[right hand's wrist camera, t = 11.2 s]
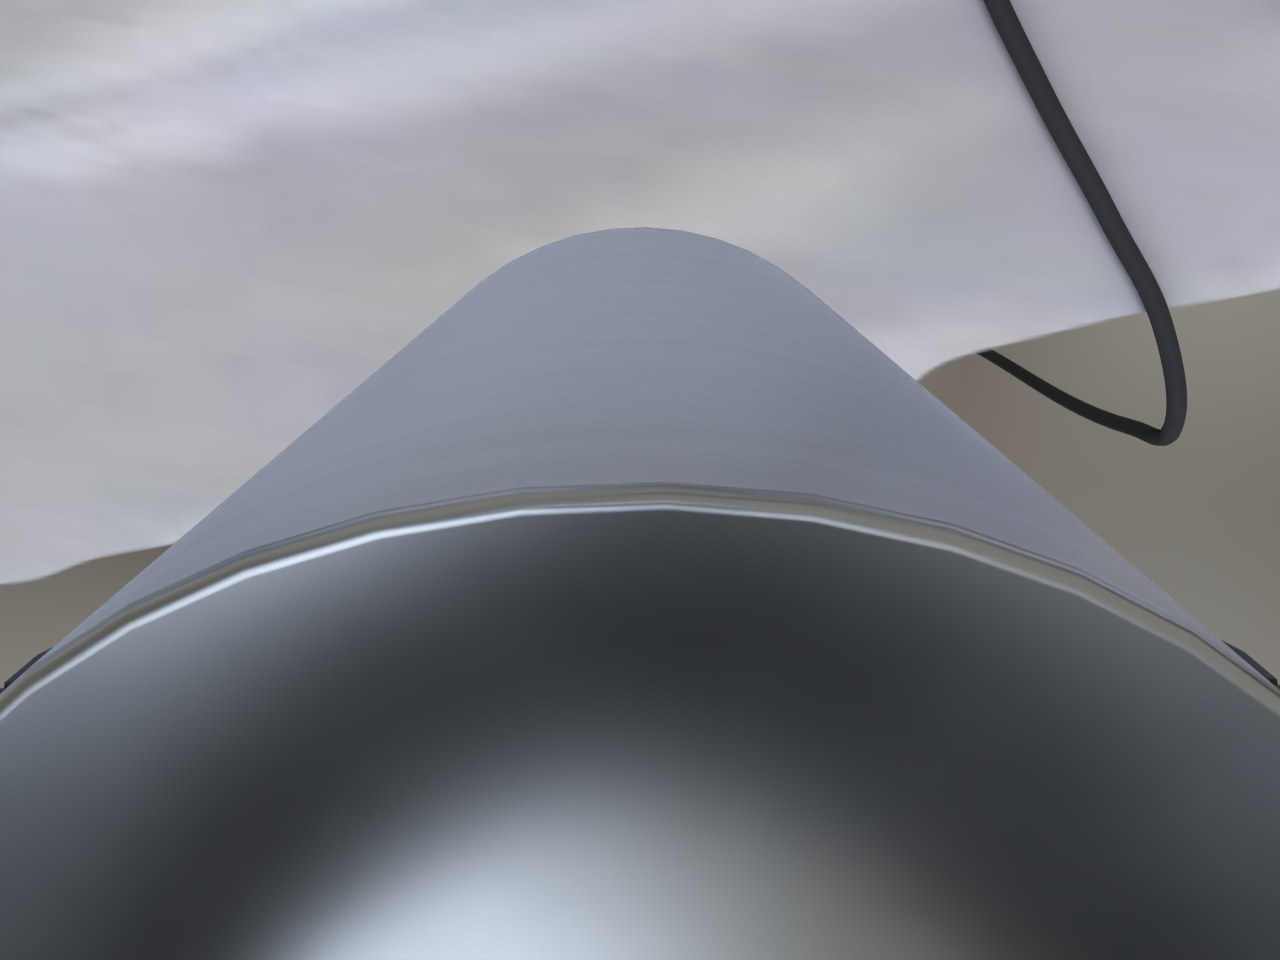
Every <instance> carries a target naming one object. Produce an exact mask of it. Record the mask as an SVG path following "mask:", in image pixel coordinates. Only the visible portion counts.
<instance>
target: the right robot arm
mask: <svg viewBox="0 0 1280 960" xmlns="http://www.w3.org/2000/svg"><path fill="white" fill-rule="evenodd" d="M984 2H985V4H986V7H987V9H988V11H989V13H990V15H991V17H992V19H993V22H994V24H995V26H996V28H997V30H998V32H999V34H1000V36H1001V38H1002V40H1003V42H1004V44H1005V46H1006V48H1007V50H1008V52H1009V54H1010V56H1011V58H1012V60H1013V62H1014V64H1015V66H1016V68H1017V70H1018V72H1019V74H1020V76H1021V78H1022V80H1023V82H1024V84H1025V86H1026V88H1027V90H1028V92H1029V94H1030V96H1031V97H1032V99H1033V101H1034V103H1035V105H1036V107H1037V109H1038V111H1039V113H1040V115H1041V117H1042V119H1043V121H1044V122H1045V124H1046V126H1047V128H1048V130H1049V132H1050V134H1051V135H1052V137H1053V139H1054V141H1055V143H1056V144H1057V146H1058V148H1059V150H1060V152H1061V153H1062V155H1063V157H1064V159H1065V161H1066V162H1067V164H1068V166H1069V168H1070V169H1071V171H1072V173H1073V175H1074V177H1075V178H1076V180H1077V182H1078V184H1079V186H1080V187H1081V189H1082V191H1083V193H1084V195H1085V197H1086V198H1087V200H1088V202H1089V204H1090V206H1091V208H1092V210H1093V211H1094V213H1095V215H1096V217H1097V219H1098V221H1099V223H1100V225H1101V227H1102V229H1103V231H1104V232H1105V234H1106V236H1107V238H1108V240H1109V242H1110V243H1111V245H1112V247H1113V249H1114V250H1115V252H1116V254H1117V256H1118V257H1119V259H1120V261H1121V262H1122V264H1123V266H1124V268H1125V269H1126V271H1127V273H1128V275H1129V276H1130V278H1131V280H1132V282H1133V284H1134V286H1135V287H1136V289H1137V291H1138V293H1139V295H1140V297H1141V300H1142V302H1143V304H1144V306H1145V309H1146V311H1147V314H1148V316H1149V319H1150V322H1151V325H1152V328H1153V331H1154V335H1155V338H1156V342H1157V346H1158V350H1159V354H1160V358H1161V363H1162V367H1163V373H1164V379H1165V386H1166V398H1167V409H1166V418H1165V422H1164V425H1163V427H1162V428H1161V430H1160V429H1157V428H1154V427H1152V426H1150V425H1147V424H1145V423H1143V422H1140V421H1136V420H1133V419H1130V418H1126V417H1123V416H1119V415H1116V414H1113V413H1111V412H1108V411H1105V410H1102V409H1100V408H1097V407H1095V406H1093V405H1090V404H1088V403H1086V402H1084V401H1082V400H1079V399H1077V398H1075V397H1073V396H1071V395H1069V394H1067V393H1066V392H1064V391H1062V390H1060V389H1058V388H1056V387H1055V386H1053V385H1051V384H1049V383H1048V382H1046V381H1044V380H1043V379H1041V378H1039V377H1038V376H1036V375H1034V374H1033V373H1031V372H1029V371H1028V370H1026V369H1024V368H1023V367H1021V366H1019V365H1018V364H1016V363H1014V362H1013V361H1011V360H1009V359H1008V358H1006V357H1004V356H1003V355H1001V354H999V353H997V352H996V351H994V350H992V349H990V348H988V349H985V350H981V351H978V352H975V353H976V354H978V355H980V356H982V357H983V358H985V359H987V360H989V361H990V362H992V363H994V364H995V365H997V366H999V367H1000V368H1002V369H1003V370H1005V371H1007V372H1008V373H1010V374H1011V375H1013V376H1014V377H1016V378H1017V379H1019V380H1021V381H1022V382H1024V383H1025V384H1027V385H1028V386H1030V387H1031V388H1033V389H1035V390H1036V391H1038V392H1039V393H1041V394H1043V395H1044V396H1046V397H1047V398H1049V399H1051V400H1052V401H1054V402H1056V403H1058V404H1059V405H1061V406H1063V407H1065V408H1066V409H1068V410H1070V411H1072V412H1074V413H1076V414H1078V415H1080V416H1082V417H1084V418H1086V419H1088V420H1091V421H1093V422H1095V423H1097V424H1100V425H1102V426H1105V427H1108V428H1110V429H1113V430H1116V431H1119V432H1122V433H1125V434H1128V435H1131V436H1134V437H1136V438H1138V439H1140V440H1143V441H1145V442H1147V443H1149V444H1151V445H1155V446H1167V445H1169V444H1171V443H1172V442H1174V441H1175V440H1177V438H1178V437H1179V435H1180V433H1181V431H1182V428H1183V425H1184V422H1185V417H1186V410H1187V389H1186V380H1185V373H1184V367H1183V362H1182V357H1181V352H1180V348H1179V344H1178V340H1177V336H1176V332H1175V328H1174V325H1173V321H1172V318H1171V315H1170V312H1169V309H1168V307H1167V304H1166V301H1165V299H1164V297H1163V294H1162V292H1161V290H1160V288H1159V286H1158V283H1157V281H1156V279H1155V277H1154V276H1153V274H1152V272H1151V270H1150V268H1149V266H1148V264H1147V263H1146V261H1145V259H1144V257H1143V256H1142V254H1141V252H1140V250H1139V249H1138V247H1137V245H1136V243H1135V242H1134V240H1133V238H1132V236H1131V234H1130V233H1129V231H1128V229H1127V227H1126V225H1125V223H1124V222H1123V220H1122V218H1121V216H1120V214H1119V212H1118V210H1117V208H1116V206H1115V204H1114V202H1113V200H1112V198H1111V196H1110V194H1109V193H1108V191H1107V189H1106V187H1105V185H1104V183H1103V181H1102V179H1101V178H1100V176H1099V174H1098V172H1097V170H1096V168H1095V167H1094V165H1093V163H1092V161H1091V159H1090V157H1089V156H1088V154H1087V152H1086V150H1085V148H1084V147H1083V145H1082V143H1081V141H1080V139H1079V138H1078V136H1077V134H1076V132H1075V130H1074V128H1073V127H1072V125H1071V123H1070V121H1069V119H1068V117H1067V115H1066V113H1065V112H1064V110H1063V108H1062V106H1061V104H1060V102H1059V100H1058V98H1057V96H1056V94H1055V92H1054V90H1053V88H1052V86H1051V84H1050V82H1049V80H1048V78H1047V76H1046V74H1045V72H1044V70H1043V68H1042V66H1041V64H1040V62H1039V60H1038V58H1037V56H1036V54H1035V52H1034V50H1033V48H1032V46H1031V44H1030V42H1029V40H1028V38H1027V36H1026V34H1025V32H1024V30H1023V28H1022V26H1021V24H1020V22H1019V19H1018V17H1017V15H1016V13H1015V11H1014V9H1013V7H1012V5H1011V2H1010V0H984ZM1221 641H1222V640H1221ZM1222 642H1224V641H1222ZM1224 643H1225V644H1226V645H1227V646H1228V647H1230V648H1231V649H1232V650H1233V651H1234V652H1235V653H1237V654H1238V655H1239V656H1240V657H1241V658H1242V659H1244V660H1245V661H1246V662H1247V663H1248V664H1249V665H1251V666H1252V667H1253V668H1254V669H1255V670H1257V671H1258V672H1259V673H1260V674H1261V675H1262V676H1264V677H1265V678H1266V679H1267V680H1268V681H1269V682H1271V683H1272V684H1273V685H1274V686H1275V687H1277V688H1278V689H1279V690H1280V685H1278V683H1277V679H1276V678H1275V677H1274V676H1272V675H1271V674H1270V673H1269V672H1268V671H1266V670H1265V669H1264V668H1263V667H1262V666H1260V665H1259V664H1258V663H1257V662H1256V661H1254V660H1253V659H1252V658H1251V657H1250V656H1248V655H1247V654H1246V653H1245V652H1243V651H1241V650H1239V649H1237V648H1236V647H1234V646H1232V645H1230V644H1228V643H1226V642H1224ZM52 648H53V647H52ZM52 648H50V649H48V650H46V651H44V652H43V653H41V654H39V655H37V656H36V657H35V658H33V659H32V660H31V661H30V662H29V663H27V664H26V665H25V666H24V667H23V668H22V669H20V670H19V671H18V672H17V673H16V674H14V675H13V676H12V677H11V678H10V679H8V680H7V681H6V682H5V686H4V688H2V689H1V688H0V694H1V693H2V692H3V691H4V690H5V689H6V688H7V687H8V686H10V685H11V684H12V683H13V682H14V681H15V680H16V679H17V678H18V677H19V676H21V675H22V674H23V673H24V672H25V671H26V670H27V669H28V668H30V667H31V666H32V665H33V664H34V663H35V662H37V661H38V660H39V659H40V658H41V657H42V656H44V655H45V654H46V653H47V652H48V651H49V650H51V649H52Z"/></svg>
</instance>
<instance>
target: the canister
mask: <svg viewBox="0 0 1280 960" xmlns="http://www.w3.org/2000/svg"><path fill="white" fill-rule="evenodd" d="M0 960H1280V690H1279V689H1278V688H1277V687H1275V686H1274V685H1273V684H1272V683H1271V682H1269V681H1268V680H1267V679H1266V678H1265V677H1264V676H1262V675H1261V674H1260V673H1259V672H1258V671H1257V670H1255V669H1254V668H1253V667H1252V666H1251V665H1249V664H1248V663H1247V662H1246V661H1245V660H1244V659H1242V658H1241V657H1240V656H1239V655H1238V654H1237V653H1235V652H1234V651H1233V650H1232V649H1231V648H1230V647H1228V646H1227V645H1226V644H1225V643H1224V642H1222V641H1221V640H1220V639H1219V638H1218V637H1217V636H1215V635H1214V634H1213V633H1212V632H1211V631H1209V630H1208V629H1207V628H1206V627H1205V626H1204V625H1202V624H1201V623H1200V622H1199V621H1198V620H1197V619H1195V618H1194V617H1193V616H1192V615H1191V614H1190V613H1188V612H1187V611H1186V610H1185V609H1184V608H1182V607H1181V606H1180V605H1179V604H1178V603H1177V602H1175V601H1174V600H1173V599H1172V598H1171V597H1170V596H1168V595H1167V594H1166V593H1165V592H1164V591H1163V590H1161V589H1160V588H1159V587H1158V586H1157V585H1155V584H1154V583H1153V582H1152V581H1151V580H1150V579H1148V578H1147V577H1146V576H1145V575H1144V574H1143V573H1141V572H1140V571H1139V570H1138V569H1137V568H1135V567H1134V566H1133V565H1132V564H1131V563H1130V562H1128V561H1127V560H1126V559H1125V558H1124V557H1123V556H1121V555H1120V554H1119V553H1118V552H1117V551H1115V550H1114V549H1113V548H1112V547H1111V546H1110V545H1108V544H1107V543H1106V542H1105V541H1104V540H1103V539H1101V538H1100V537H1099V536H1098V535H1097V534H1095V533H1094V532H1093V531H1092V530H1091V529H1090V528H1088V527H1087V526H1086V525H1085V524H1084V523H1083V522H1081V521H1080V520H1079V519H1078V518H1077V517H1076V516H1074V515H1073V514H1072V513H1071V512H1070V511H1068V510H1067V509H1066V508H1065V507H1064V506H1063V505H1061V504H1060V503H1059V502H1058V501H1057V500H1055V499H1054V498H1053V497H1052V496H1051V495H1050V494H1048V493H1047V492H1046V491H1045V490H1044V489H1043V488H1041V487H1040V486H1039V485H1038V484H1037V483H1035V482H1034V481H1033V480H1032V479H1031V478H1030V477H1029V476H1027V475H1026V474H1025V473H1024V472H1023V471H1021V470H1020V469H1019V468H1018V467H1017V466H1016V465H1014V464H1013V463H1012V462H1011V461H1010V460H1009V459H1007V458H1006V457H1005V456H1004V455H1003V454H1001V453H1000V452H999V451H998V450H997V449H996V448H994V447H993V446H992V445H991V444H990V443H989V442H987V441H986V440H985V439H984V438H983V437H982V436H980V435H979V434H978V433H977V432H976V431H974V430H973V429H972V428H971V427H970V426H969V425H967V424H966V423H965V422H964V421H963V420H961V419H960V418H959V417H958V416H957V415H956V414H954V413H953V412H952V411H951V410H950V409H949V408H947V407H946V406H945V405H944V404H943V403H941V402H940V401H939V400H938V399H937V398H936V397H934V396H933V395H932V394H931V393H930V392H929V391H927V390H926V389H925V388H924V387H923V386H922V385H920V384H919V383H918V382H917V381H916V380H915V379H913V378H912V377H911V376H910V375H909V374H907V373H906V372H905V371H904V370H903V369H902V368H900V367H899V366H898V365H897V364H896V363H895V362H893V361H892V360H891V359H890V358H889V357H887V356H886V355H885V354H884V353H883V352H882V351H880V350H879V349H878V348H877V347H876V346H875V345H873V344H872V343H871V342H870V341H869V340H867V339H866V338H865V337H864V336H863V335H862V334H860V333H859V332H858V331H857V330H856V329H855V328H853V327H852V326H851V325H850V324H849V323H848V322H846V321H845V320H844V319H843V318H842V317H840V316H839V315H838V314H837V313H836V312H835V311H833V310H832V309H831V308H830V307H829V306H828V305H826V304H825V303H824V302H823V301H822V300H820V299H819V298H818V297H817V296H816V295H815V294H813V293H812V292H811V291H810V290H809V289H808V288H806V287H805V286H804V285H802V284H801V283H800V282H798V281H797V280H796V279H794V278H793V277H791V276H790V275H789V274H787V273H786V272H785V271H783V270H782V269H781V268H779V267H777V266H776V265H774V264H772V263H770V262H768V261H766V260H765V259H763V258H761V257H759V256H757V255H755V254H754V253H752V252H750V251H748V250H745V249H742V248H740V247H737V246H735V245H732V244H729V243H727V242H724V241H721V240H719V239H716V238H712V237H707V236H703V235H699V234H694V233H690V232H686V231H680V230H669V229H659V228H648V227H644V228H622V229H608V230H602V231H597V232H591V233H586V234H581V235H575V236H572V237H569V238H566V239H563V240H560V241H557V242H554V243H551V244H548V245H545V246H542V247H540V248H538V249H536V250H534V251H532V252H530V253H528V254H526V255H524V256H521V257H519V258H517V259H515V260H513V261H511V262H510V263H508V264H507V265H505V266H504V267H502V268H501V269H499V270H498V271H496V272H495V273H493V274H492V275H490V276H489V277H487V278H486V279H484V280H483V281H482V282H480V283H479V284H478V285H477V286H476V287H475V288H473V289H472V290H471V291H470V292H469V293H468V294H466V295H465V296H464V297H463V298H462V299H461V300H459V301H458V302H457V303H456V304H455V305H454V306H452V307H451V308H450V309H449V310H448V311H446V312H445V313H444V314H443V315H442V316H441V317H439V318H438V319H437V320H436V321H435V322H434V323H432V324H431V325H430V326H429V327H428V328H427V329H425V330H424V331H423V332H422V333H421V334H420V335H418V336H417V337H416V338H415V339H414V340H413V341H411V342H410V343H409V344H408V345H407V346H405V347H404V348H403V349H402V350H401V351H400V352H398V353H397V354H396V355H395V356H394V357H393V358H391V359H390V360H389V361H388V362H387V363H386V364H384V365H383V366H382V367H381V368H380V369H379V370H377V371H376V372H375V373H374V374H373V375H372V376H370V377H369V378H368V379H367V380H366V381H364V382H363V383H362V384H361V385H360V386H359V387H357V388H356V389H355V390H354V391H353V392H352V393H350V394H349V395H348V396H347V397H346V398H345V399H343V400H342V401H341V402H340V403H339V404H338V405H336V406H335V407H334V408H333V409H332V410H331V411H329V412H328V413H327V414H326V415H325V416H324V417H322V418H321V419H320V420H319V421H318V422H316V423H315V424H314V425H313V426H312V427H311V428H309V429H308V430H307V431H306V432H305V433H304V434H302V435H301V436H300V437H299V438H298V439H297V440H295V441H294V442H293V443H292V444H291V445H290V446H288V447H287V448H286V449H285V450H284V451H283V452H281V453H280V454H279V455H278V456H277V457H275V458H274V459H273V460H272V461H271V462H270V463H268V464H267V465H266V466H265V467H264V468H263V469H261V470H260V471H259V472H258V473H257V474H256V475H254V476H253V477H252V478H251V479H250V480H249V481H247V482H246V483H245V484H244V485H243V486H242V487H240V488H239V489H238V490H237V491H236V492H234V493H233V494H232V495H231V496H230V497H229V498H227V499H226V500H225V501H224V502H223V503H222V504H220V505H219V506H218V507H217V508H216V509H215V510H213V511H212V512H211V513H210V514H209V515H208V516H206V517H205V518H204V519H203V520H202V521H201V522H199V523H198V524H197V525H196V526H195V527H193V528H192V529H191V530H190V531H189V532H188V533H186V534H185V535H184V536H183V537H182V538H181V539H179V540H178V541H177V542H176V543H175V544H174V545H172V546H171V547H170V548H169V549H168V550H167V551H165V552H164V553H163V554H162V555H161V556H160V557H158V558H157V559H156V560H155V561H154V562H152V563H151V564H150V565H149V566H148V567H147V568H146V569H144V570H143V571H142V572H141V573H140V574H138V575H137V576H136V577H135V578H134V579H133V580H131V581H130V582H129V583H128V584H127V585H126V586H124V587H123V588H122V589H121V590H120V591H119V592H117V593H116V594H115V595H114V596H113V597H111V598H110V599H109V600H108V601H107V602H106V603H104V604H103V605H102V606H101V607H100V608H99V609H97V610H96V611H95V612H94V613H93V614H92V615H90V616H89V617H88V618H87V619H86V620H85V621H83V622H82V623H81V624H80V625H79V626H78V627H76V628H75V629H74V630H73V631H72V632H71V633H69V634H68V635H67V636H66V637H65V638H63V639H62V640H61V641H60V642H59V643H58V644H56V645H55V646H54V647H53V648H52V649H51V650H49V651H48V652H47V653H46V654H45V655H44V656H42V657H41V658H40V659H39V660H38V661H37V662H35V663H34V664H33V665H32V666H31V667H30V668H28V669H27V670H26V671H25V672H24V673H23V674H22V675H21V676H19V677H18V678H17V679H16V680H15V681H14V682H13V683H12V684H11V685H10V686H8V687H7V688H6V689H5V690H4V691H3V692H2V693H1V694H0Z"/></svg>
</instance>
